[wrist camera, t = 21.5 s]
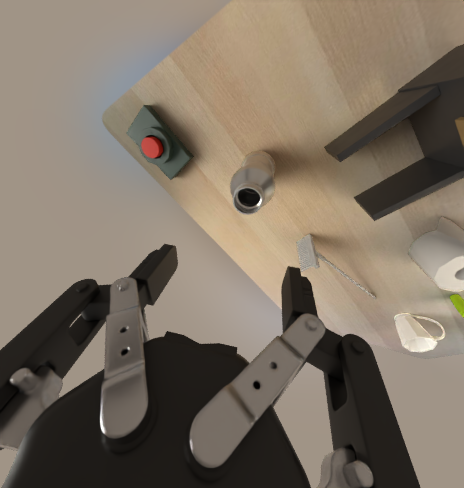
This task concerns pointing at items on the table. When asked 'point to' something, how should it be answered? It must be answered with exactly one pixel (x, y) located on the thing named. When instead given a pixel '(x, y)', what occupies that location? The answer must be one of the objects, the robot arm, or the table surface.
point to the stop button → (152, 147)
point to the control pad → (173, 148)
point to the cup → (415, 333)
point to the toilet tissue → (441, 255)
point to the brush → (311, 259)
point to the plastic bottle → (253, 182)
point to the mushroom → (458, 303)
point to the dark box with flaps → (426, 129)
